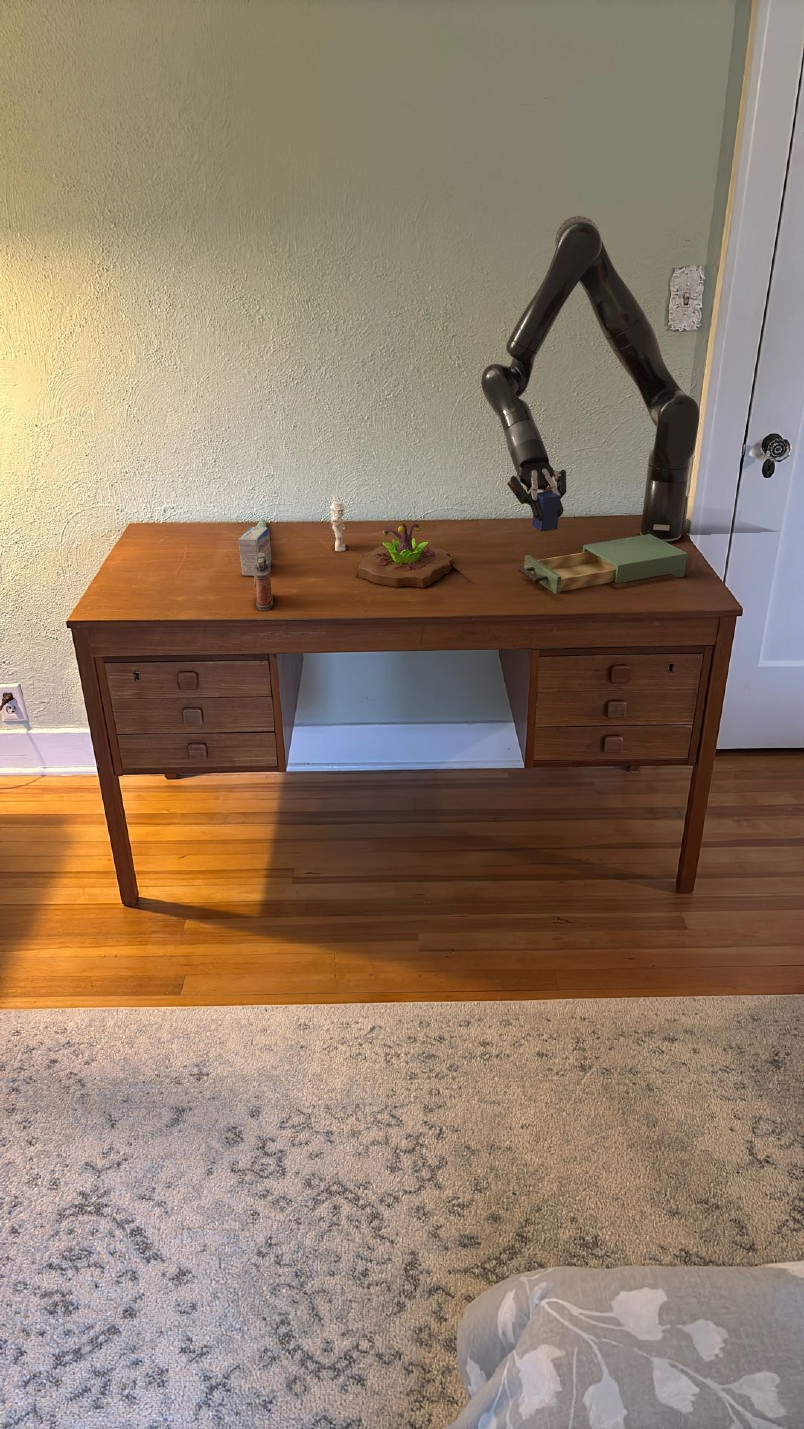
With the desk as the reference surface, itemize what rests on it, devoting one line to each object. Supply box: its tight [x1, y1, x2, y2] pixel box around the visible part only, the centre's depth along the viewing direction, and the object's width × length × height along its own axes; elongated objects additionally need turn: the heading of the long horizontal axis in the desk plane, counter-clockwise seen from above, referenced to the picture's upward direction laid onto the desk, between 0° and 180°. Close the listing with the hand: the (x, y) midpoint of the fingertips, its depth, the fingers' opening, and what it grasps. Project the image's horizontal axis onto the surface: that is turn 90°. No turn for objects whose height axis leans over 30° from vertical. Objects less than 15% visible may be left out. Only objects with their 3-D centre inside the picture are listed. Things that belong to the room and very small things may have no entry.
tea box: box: [531, 491, 561, 532], centre depth 211 cm, size 4×4×7 cm
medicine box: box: [238, 526, 273, 577], centre depth 214 cm, size 8×4×9 cm, turn 168°
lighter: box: [253, 553, 274, 611], centre depth 198 cm, size 8×3×10 cm, turn 5°
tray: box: [517, 551, 616, 595], centre depth 206 cm, size 21×14×4 cm, turn 112°
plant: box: [357, 523, 453, 589], centre depth 212 cm, size 20×20×11 cm
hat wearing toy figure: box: [329, 495, 347, 552], centre depth 225 cm, size 9×4×12 cm, turn 1°
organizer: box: [582, 534, 688, 584], centre depth 211 cm, size 17×14×5 cm
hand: (550, 516), depth 210 cm, fingers closed on tea box, 4 cm apart
